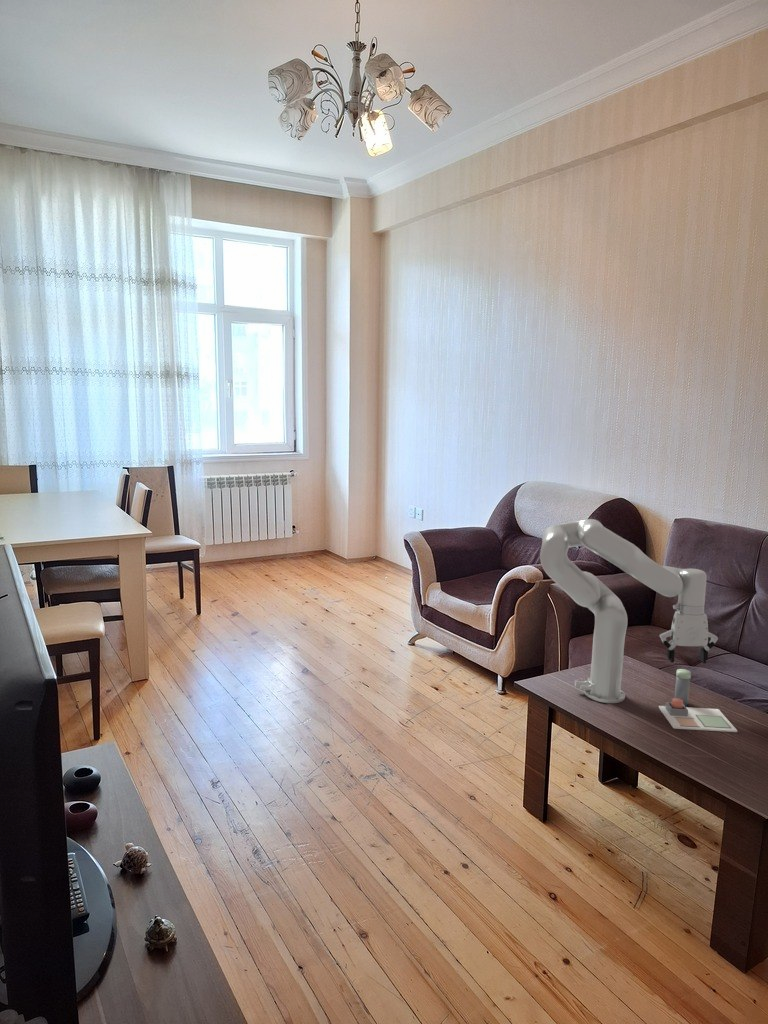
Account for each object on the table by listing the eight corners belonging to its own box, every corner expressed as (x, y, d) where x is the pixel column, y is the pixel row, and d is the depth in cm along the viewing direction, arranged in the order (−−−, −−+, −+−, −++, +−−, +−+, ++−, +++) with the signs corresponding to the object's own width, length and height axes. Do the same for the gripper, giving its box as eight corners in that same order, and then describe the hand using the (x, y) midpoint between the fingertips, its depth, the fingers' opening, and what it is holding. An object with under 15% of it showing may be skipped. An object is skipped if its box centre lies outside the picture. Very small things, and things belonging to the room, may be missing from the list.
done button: (673, 709, 207) (673, 702, 207) (669, 705, 210) (670, 697, 210) (683, 710, 207) (684, 702, 206) (680, 705, 210) (681, 698, 210)
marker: (676, 705, 215) (679, 673, 213) (671, 699, 219) (674, 668, 217) (689, 706, 214) (693, 674, 212) (685, 700, 218) (688, 669, 217)
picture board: (673, 728, 199) (674, 720, 199) (658, 707, 213) (659, 699, 213) (737, 732, 198) (738, 724, 198) (718, 710, 212) (719, 703, 211)
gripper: (665, 611, 208) (662, 665, 211) (724, 613, 207) (720, 666, 210) (658, 604, 216) (654, 656, 218) (714, 605, 214) (710, 657, 217)
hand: (686, 661), depth 214 cm, fingers open, 9 cm apart
